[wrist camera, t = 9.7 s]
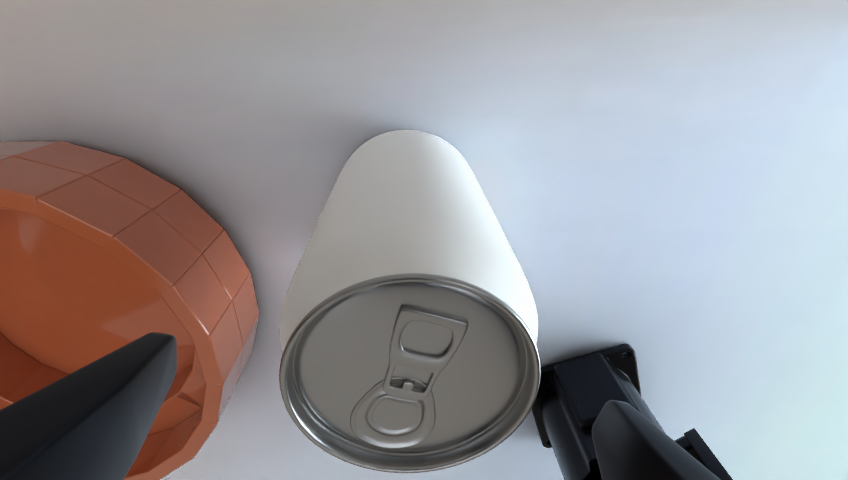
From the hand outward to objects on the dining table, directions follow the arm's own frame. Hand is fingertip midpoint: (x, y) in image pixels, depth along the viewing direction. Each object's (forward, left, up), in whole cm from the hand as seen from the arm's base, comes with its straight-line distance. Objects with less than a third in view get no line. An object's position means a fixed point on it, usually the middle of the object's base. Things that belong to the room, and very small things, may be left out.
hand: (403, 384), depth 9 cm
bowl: (0, +16, -12) cm, 20 cm away
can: (0, 0, -12) cm, 12 cm away
